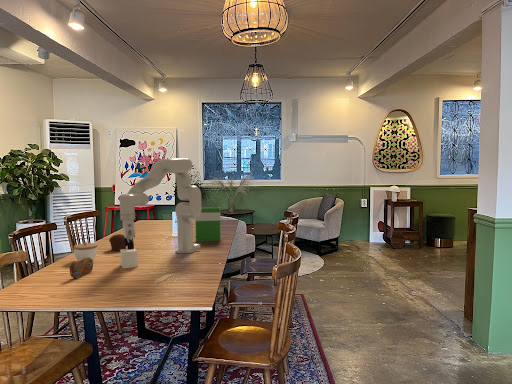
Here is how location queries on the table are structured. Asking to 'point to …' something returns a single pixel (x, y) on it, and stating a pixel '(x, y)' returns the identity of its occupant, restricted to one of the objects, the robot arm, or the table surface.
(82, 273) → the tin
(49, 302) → the table surface
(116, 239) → the muffin
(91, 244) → the lidded bowl
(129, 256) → the beige cube
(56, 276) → the table surface
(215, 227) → the hardback book
